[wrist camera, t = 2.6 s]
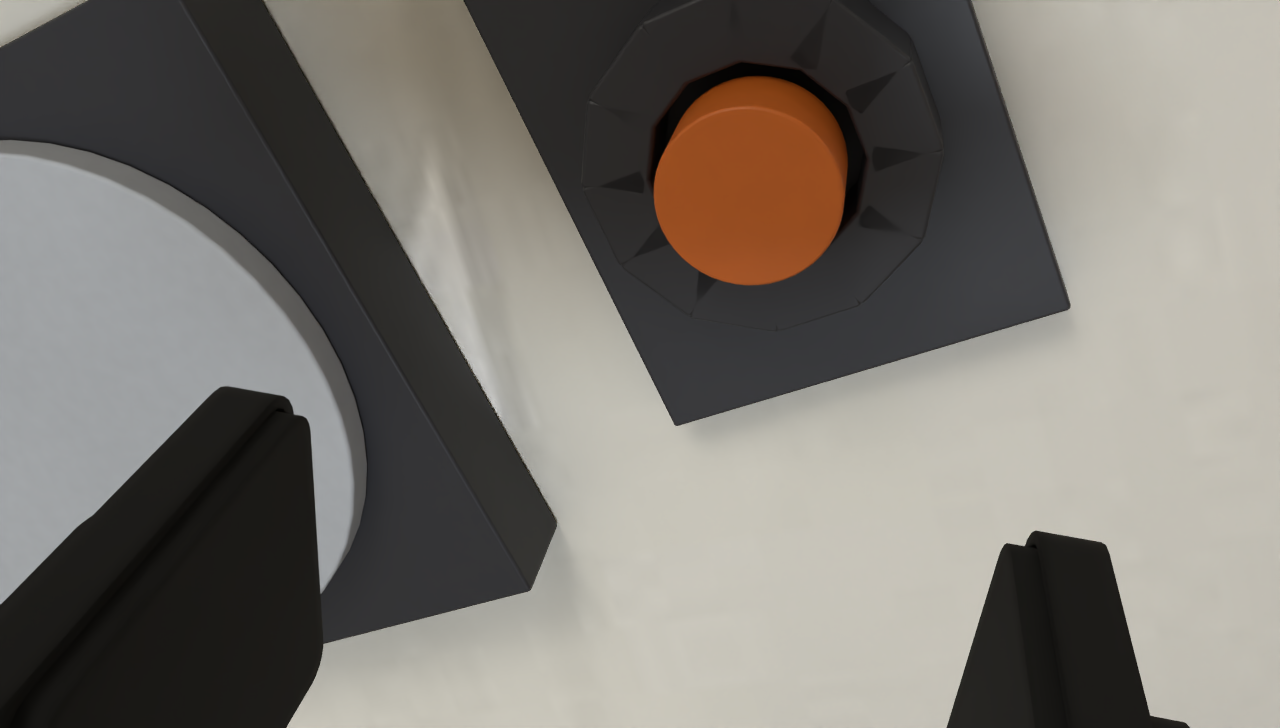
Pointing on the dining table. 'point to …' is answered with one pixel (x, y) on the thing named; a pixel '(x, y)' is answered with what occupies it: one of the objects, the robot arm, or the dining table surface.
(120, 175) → the scale
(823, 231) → the button
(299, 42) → the dining table surface
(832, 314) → the block
